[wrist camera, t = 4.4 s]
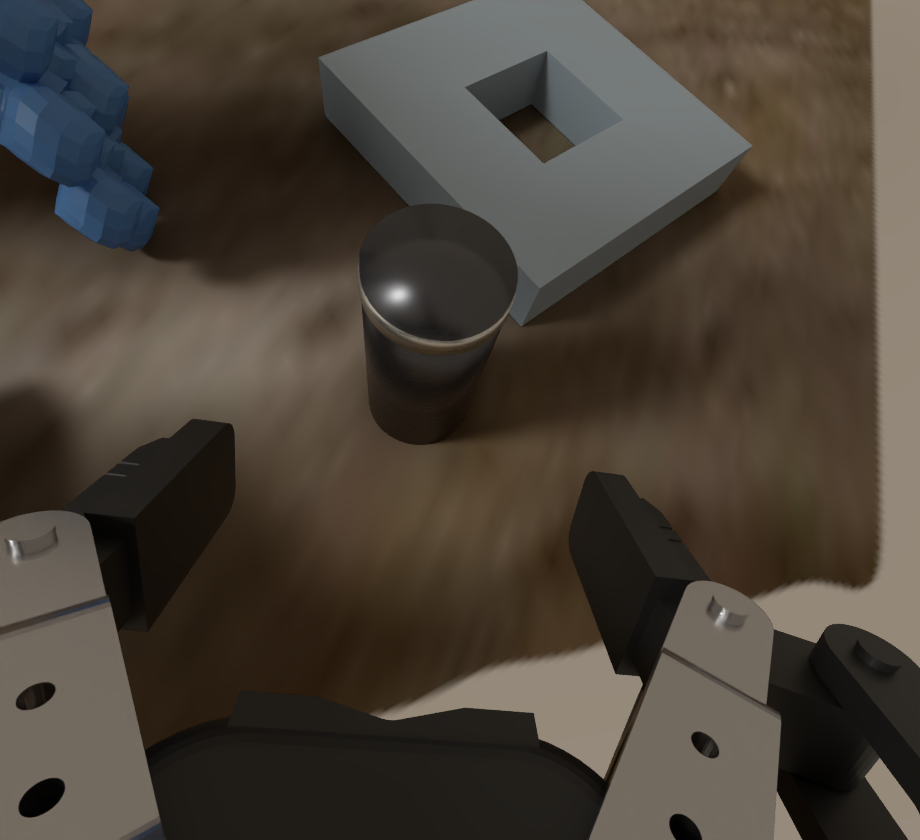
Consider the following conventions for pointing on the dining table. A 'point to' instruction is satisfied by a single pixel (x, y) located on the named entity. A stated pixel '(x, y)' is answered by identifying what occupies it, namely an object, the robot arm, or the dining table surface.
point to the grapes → (72, 121)
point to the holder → (505, 157)
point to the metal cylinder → (431, 315)
